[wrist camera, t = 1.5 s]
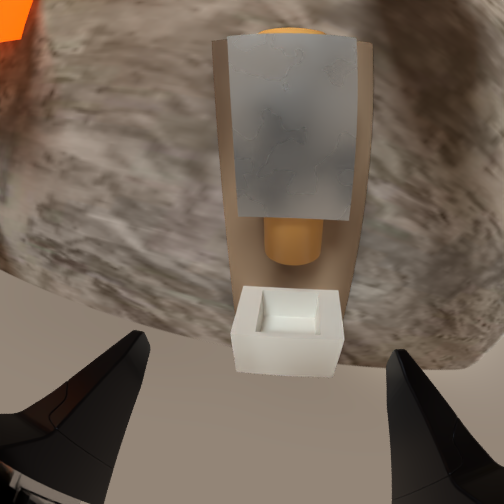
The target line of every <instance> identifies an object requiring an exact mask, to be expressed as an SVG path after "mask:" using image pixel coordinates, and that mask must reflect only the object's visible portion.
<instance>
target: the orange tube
mask: <svg viewBox="0 0 504 504" xmlns="http://www.w3.org/2000/svg"><path fill="white" fill-rule="evenodd" d="M267 33H305V34H324V35H326V34H325V33H323V32H320V31H316V30H312V29H304V28H276V29H269V30H265V31H262V32H259V33H258V34H267ZM323 220H324V219H303V218H275V217H264V244H265V253H266V255H267V256H268V257H269V258H270V259H271V260H273V261H275V262H277V263H280V264H284V265H304V264H308V263H311V262H313V261H314V260H316V259H317V258H318V257H319V255H320V252H321V243H322V232H323Z"/></svg>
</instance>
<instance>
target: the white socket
mask: <svg viewBox="0 0 504 504" xmlns="http://www.w3.org/2000/svg"><path fill="white" fill-rule="evenodd" d="M231 340H232V347H233V353H234V359H235V366H236V371H237V372H243V373H254V374H265V375H266V374H267V375H279V376H280V375H281V376H297V377H298V376H299V377H333V375H334V372H335V369H336V365H337V362H338V359H339V356H340V353H341V350H342V346H343V343H344V331H343V322H342V314H341V306H340V299H339V292H338V290H318V289H295V288H274V287H256V286H243V289H242V292H241V296H240V300H239V304H238V307H237V311H236V315H235V319H234V322H233V326H232V330H231Z"/></svg>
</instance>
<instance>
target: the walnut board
mask: <svg viewBox="0 0 504 504" xmlns="http://www.w3.org/2000/svg"><path fill="white" fill-rule="evenodd" d="M212 55H213V73H214V89H215V104H216V119H217V132H218V145H219V158H220V170H221V182H222V193H223V204H224V215H225V225H226V235H227V245H228V255H229V265H230V274H231V283H232V292H233V301H234V310H235V315H236V311H237V307H238V304H239V300H240V296H241V292H242V289H243V286H256V287H274V288H295V289H318V290H338V292H339V299H340V306H341V314H342V322H343V318H344V313H345V309H346V305H347V301H348V296H349V292H350V287H351V282H352V277H353V273H354V267H355V262H356V257H357V251H358V246H359V240H360V234H361V227H362V221H363V214H364V207H365V199H366V191H367V182H368V173H369V162H370V150H371V136H372V116H373V48H372V43H368V42H362V41H357V69H358V102H357V133H356V151H355V165H354V177H353V188H352V198H351V207H350V215H349V221H345V220H325V219H324V220H323V232H322V243H321V252H320V255H319V257H318V258H317V259H316V260H314V261H313V262H311V263H308V264H304V265H284V264H280V263H277V262H275V261H273V260H271V259H270V258H269V257H268V256H267V255H266V253H265V244H264V217H238V207H237V193H236V178H235V163H234V147H233V132H232V115H231V98H230V80H229V62H228V43H227V39H225V40H216V41H212Z"/></svg>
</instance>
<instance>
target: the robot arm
mask: <svg viewBox="0 0 504 504" xmlns="http://www.w3.org/2000/svg"><path fill="white" fill-rule="evenodd" d="M149 353H150V344H149V342H148V340H147V337H146V335H145V333H144V332H142V331H137V330H133V331H132V332H130V333H129V334H128V335H126V336H125V337H124V338H122V339H121V340H120V341H118V342H117V343H116V344H115V345H113V346H112V347H111V348H109V349H108V350H107V351H105V352H104V353H103V354H101V355H100V356H99V357H98V358H96V359H95V360H94V361H93V362H91V363H90V364H89V365H87V366H86V367H85V368H83V369H82V370H81V371H79V372H78V373H77V374H76V375H74V376H73V377H72V378H71V379H69V380H68V381H66V382H65V383H64V384H63V385H61V386H60V387H59V388H57V389H56V390H55V391H53V392H52V393H50V394H49V395H47V396H46V397H44V398H43V399H41V400H40V401H38V402H36V403H35V404H33V405H32V406H30V407H28V408H27V409H25V410H23V411H21V412H18V413H14V414H0V504H80V502H81V501H84V502H87V503H90V504H104V501H105V497H106V493H107V490H108V486H109V483H110V479H111V476H112V473H113V468H114V465H115V462H116V459H117V455H118V452H119V449H120V446H121V443H122V440H123V437H124V434H125V431H126V428H127V425H128V422H129V419H130V416H131V413H132V410H133V407H134V404H135V402H136V399H137V396H138V393H139V391H140V388H141V384H142V381H143V377H144V373H145V369H146V365H147V361H148V357H149ZM386 381H387V413H388V421H389V433H390V448H391V468H392V504H504V467H503V466H501V465H499V464H497V463H496V462H495V461H494V460H493V459H492V458H491V457H490V456H489V454H488V453H487V452H486V451H485V450H484V449H483V448H482V447H481V445H480V444H479V443H478V442H477V441H476V440H475V438H473V436H472V435H471V434H470V433H469V431H468V430H467V429H466V427H465V426H464V425H463V423H462V422H461V420H460V419H459V418H458V417H457V415H456V414H455V412H454V411H453V410H452V408H451V407H450V406H449V404H448V403H447V402H446V400H445V399H444V398H443V396H442V395H441V394H440V393H439V391H438V390H437V389H436V387H435V386H434V385H433V384H432V382H431V381H430V380H429V378H428V377H427V376H426V375H425V373H424V372H423V371H422V369H421V368H420V367H419V366H418V364H417V363H416V362H415V361H414V359H413V358H412V357H411V356H410V355H409V353H408V352H407V351H406V350H405V349H395V350H394V351H393V352H392V354H391V356H390V358H389V360H388V362H387V365H386Z"/></svg>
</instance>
